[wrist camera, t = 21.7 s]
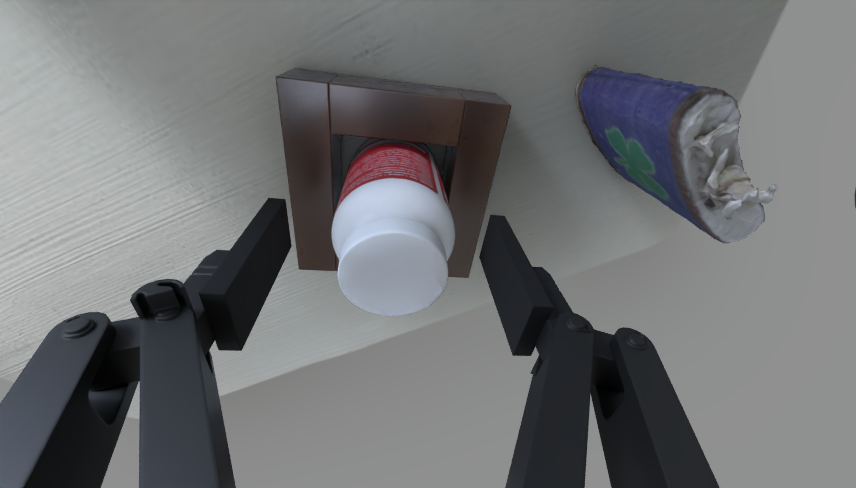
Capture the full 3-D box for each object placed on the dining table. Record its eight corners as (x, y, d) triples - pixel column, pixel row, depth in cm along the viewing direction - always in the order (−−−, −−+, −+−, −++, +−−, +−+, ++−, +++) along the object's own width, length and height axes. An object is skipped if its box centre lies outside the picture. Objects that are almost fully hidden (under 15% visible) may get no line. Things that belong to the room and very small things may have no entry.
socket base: (496, 93, 20) (512, 105, 17) (460, 250, 27) (468, 278, 24) (294, 67, 19) (275, 76, 16) (310, 241, 25) (298, 269, 22)
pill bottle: (330, 167, 22) (284, 270, 13) (401, 110, 20) (405, 183, 11) (389, 228, 25) (385, 346, 16) (455, 183, 23) (492, 286, 14)
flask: (657, 163, 24) (810, 247, 15) (619, 188, 25) (741, 282, 16) (605, 53, 19) (777, 80, 11) (562, 89, 20) (686, 142, 12)
